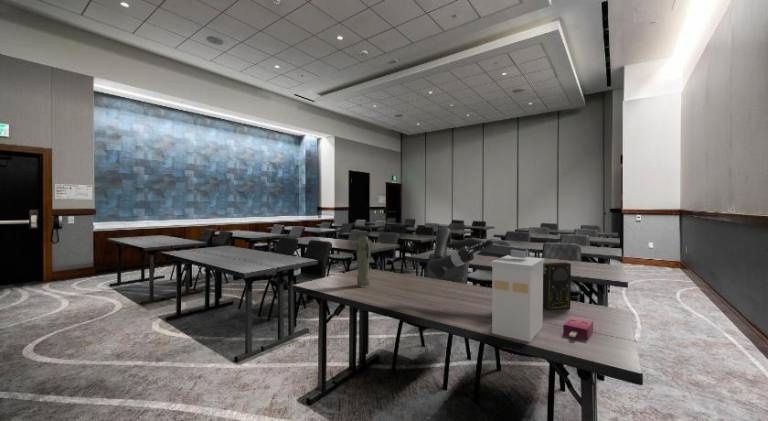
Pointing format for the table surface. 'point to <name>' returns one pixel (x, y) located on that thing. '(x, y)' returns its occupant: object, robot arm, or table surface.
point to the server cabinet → (517, 297)
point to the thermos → (363, 261)
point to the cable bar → (506, 250)
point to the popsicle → (578, 327)
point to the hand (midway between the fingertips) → (490, 241)
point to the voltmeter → (556, 285)
